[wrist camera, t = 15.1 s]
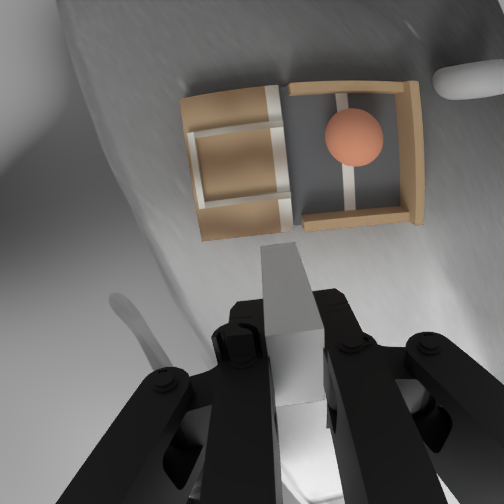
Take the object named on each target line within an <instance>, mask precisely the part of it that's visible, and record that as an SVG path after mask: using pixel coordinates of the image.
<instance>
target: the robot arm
mask: <svg viewBox="0 0 504 504" xmlns="http://www.w3.org/2000/svg"><path fill="white" fill-rule="evenodd" d="M261 264H262V284H263V299H257V300H248V301H240V302H236V304H235V305H234V306H233V307H232V308H231V310H230V316H229V323H227V324H225V325H223V326H220V327H219V328H218V329H217V330H216V331H214V333H213V335H212V337H211V339H212V342H213V346H214V350H215V354H216V358H217V362H218V364H217V366H216V367H214V368H213V369H211V370H209V371H207V372H204V373H201V374H197V375H194V376H190V377H189V375H188V373H187V372H186V371H184V370H183V369H180V368H177V367H165V368H161V369H157V370H156V371H154V372H152V373H150V374H149V375H148V376H147V377H146V378H145V379H144V380H143V381H142V383H141V384H140V385H139V387H138V388H137V390H136V391H135V392H134V394H133V395H132V396H131V398H130V399H129V401H128V402H127V403H126V405H125V406H124V408H123V409H122V410H121V412H120V413H119V415H118V416H117V418H116V419H115V420H114V422H113V423H112V424H111V426H110V427H109V429H108V430H107V431H106V433H105V434H104V436H103V437H102V438H101V440H100V441H99V443H98V444H97V445H96V447H95V448H94V450H93V451H92V453H91V454H90V455H89V457H88V458H87V460H86V461H85V463H84V464H83V465H82V467H81V468H80V469H79V471H78V472H77V474H76V475H75V477H74V478H73V479H72V481H71V482H70V484H69V485H68V487H67V488H66V489H65V491H64V492H63V494H62V495H61V497H60V498H59V499H58V501H57V502H56V504H283V497H282V481H281V465H280V450H279V436H278V421H277V414H276V407H277V406H286V405H294V404H302V403H309V402H316V401H322V400H325V394H326V399H327V428H330V430H331V435H332V439H333V444H334V449H335V454H336V459H337V464H338V469H339V474H340V479H341V484H342V490H343V495H344V500H345V504H448V502H447V500H446V497H445V494H444V492H443V489H442V487H441V484H440V482H439V479H438V476H439V477H440V478H441V479H442V481H443V482H444V483H445V484H446V486H447V487H448V488H449V490H450V491H451V492H452V494H453V495H454V496H455V498H456V499H457V500H458V502H459V503H460V504H504V385H503V384H502V383H501V382H500V381H499V380H497V379H496V378H495V377H494V376H493V375H492V374H490V373H489V372H488V371H487V370H486V369H484V368H483V367H482V366H481V365H480V364H478V363H477V362H476V361H475V360H474V359H472V358H471V357H470V356H469V355H468V354H466V353H465V352H464V351H463V350H461V349H460V348H459V347H458V346H457V345H455V344H454V343H453V342H452V341H450V340H449V339H448V338H446V337H445V336H443V335H441V334H438V333H434V332H421V333H417V334H415V335H413V336H412V337H410V338H409V339H408V341H407V343H406V347H386V346H381V345H378V344H377V342H376V341H375V340H374V338H373V337H372V336H370V335H368V334H366V333H364V332H362V329H361V327H360V325H359V323H358V321H357V319H356V317H355V315H354V313H353V311H352V310H351V307H350V305H349V304H348V301H347V299H346V297H345V295H344V294H343V293H341V292H340V291H338V290H337V289H335V288H333V289H326V290H319V291H312V290H311V287H310V284H309V281H308V278H307V275H306V272H305V270H304V267H303V264H302V261H301V258H300V255H299V252H298V250H297V247H296V244H295V242H292V243H284V244H276V245H268V246H261ZM436 473H437V474H438V476H437V474H436ZM189 496H190V497H189Z"/></svg>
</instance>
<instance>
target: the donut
mask: <svg viewBox="0 0 504 504" xmlns="http://www.w3.org/2000/svg"><path fill="white" fill-rule="evenodd" d="M432 84H433V87H434V89H435V91H436V92H437V93H438V94H439V95H440V96H442V97H443V98H445V99H449V100H464V99H475V98H483V97H489V96H495V95H500V94H504V59H493V60H486V61H479V62H472V63H466V64H461V65H455V66H450V67H445V68H441V69H438V70H437V71H436V72H435V73H434V75H433V78H432Z"/></svg>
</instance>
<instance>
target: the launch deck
mask: <svg viewBox="0 0 504 504" xmlns="http://www.w3.org/2000/svg"><path fill="white" fill-rule="evenodd" d="M179 100H180V108H181V115H182V122H183V129H184V136H185V143H186V149H187V156H188V162H189V168H190V175H191V181H192V187H193V193H194V199H195V204H196V210H197V216H198V221H199V227H200V232H201V238H202V241H210V240H218V239H227V238H236V237H245V236H254V235H263V234H272V233H281V232H290V231H294V228H293V216H292V205H291V191H290V185H289V175H288V165H287V156H286V147H285V138H284V129H283V127H284V125H283V120H282V113H281V105H280V97H279V89H278V85H269V86H260V87H251V88H243V89H235V90H228V91H221V92H215V93H209V94H203V95H197V96H192V97H186V98H181V99H179Z"/></svg>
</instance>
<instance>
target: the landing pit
mask: <svg viewBox="0 0 504 504" xmlns="http://www.w3.org/2000/svg"><path fill="white" fill-rule="evenodd" d="M278 89H279V97H280V105H281V113H282V120H283V125H284V127H283V129H284V138H285V147H286V156H287V165H288V175H289V185H290V191H291V205H292V216H293V225H302V227H303V229H304V231H305V232H309V231H319V230H328V229H338V228H348V227H358V226H368V225H378V224H388V223H398V222H411V223H412V224H414V225H415V226H417V225H424V196H425V170H424V140H423V124H422V111H421V101H420V91H419V83H418V81H406V82H391V81H314V82H296V83H289V84H288V86H285V87H278ZM350 108H355V109H361V110H364V111H366V112H368V113H369V114H371V115H372V116H373V117H374V118H375V119H376V120H377V121H378V123H379V125H380V126H381V129H382V132H383V146H382V149H381V152H380V153H379V155H378V156H377V157H376V159H375V160H373V161H372V162H370V163H369V164H366V165H363V166H357V167H354V166H348V165H345V164H343V163H341V162H339V161H338V160H336V159H335V158H334V157H333V156H332V155H331V153H330V152H329V150H328V148H327V146H326V142H325V130H326V126H327V124H328V122H329V120H330V119H331V118H332V117H333V116H334V115H335V114H336V113H338V112H339V111H342V110H345V109H350Z"/></svg>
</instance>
